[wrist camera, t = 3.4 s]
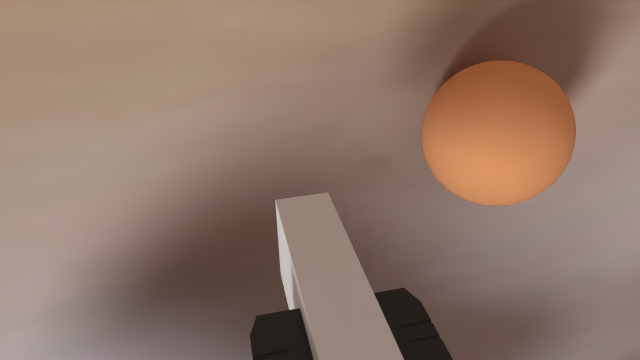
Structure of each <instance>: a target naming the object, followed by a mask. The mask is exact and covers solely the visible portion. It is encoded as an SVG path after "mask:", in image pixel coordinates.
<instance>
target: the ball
mask: <svg viewBox="0 0 640 360" xmlns="http://www.w3.org/2000/svg"><path fill="white" fill-rule="evenodd" d="M575 136H576V125H575V118H574V113H573V110H572V107H571V105H570V102H569V100H568V98H567V97H566V95H565V93H564V92H563V90H562V89H561V88H560V87H559V85H558V84H557V83H556V82H555V81H554V80H553V79H552V78H550V77H549V76H548V75H546V74H545V73H543V72H542V71H540V70H538V69H536V68H534V67H532V66H529V65H527V64H523V63H520V62H514V61H507V60H497V61H487V62H482V63H479V64H476V65H473V66H470V67H468V68H465V69H463V70H461V71H460V72H458V73H456V74H455V75H454V76H452V77H451V78H450V79H448V80H447V81H446V82H445V83H444V84H443V85H442V86H441V87H440V88H439V90H438V91H437V92H436V93H435V95H434V96H433V98H432V100H431V101H430V103H429V105H428V107H427V110H426V112H425V115H424V119H423V124H422V135H421V139H422V147H423V152H424V156H425V158H426V161H427V163H428V165H429V168H430V169H431V171H432V172H433V174H434V175H435V177H436V178H437V179H438V180H439V182H440V183H441V184H442V185H443V186H444V187H446V188H447V189H448V190H449V191H451V192H452V193H454V194H455V195H457V196H459V197H461V198H463V199H465V200H467V201H470V202H473V203H477V204H482V205H488V206H503V205H511V204H515V203H519V202H522V201H525V200H528V199H530V198H532V197H534V196H536V195H538V194H539V193H541V192H542V191H544V190H545V189H547V188H548V187H549V186H550V185H551V184H552V183H553V182H554V181H555V180H556V179H557V178H558V177H559V176H560V174H561V173H562V172H563V170H564V169H565V167H566V165H567V164H568V162H569V160H570V157H571V155H572V152H573V148H574V144H575Z"/></svg>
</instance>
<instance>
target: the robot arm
mask: <svg viewBox="0 0 640 360" xmlns="http://www.w3.org/2000/svg"><path fill="white" fill-rule="evenodd" d="M275 203H276V216H277V230H278V244H279V257H280V271H281V277H282V282H283V286H284V290H285V294H286V298H287V303H288V307H289V310H286V311H281V312H275V313H270V314H264V315H259V316H257V317H256V319H255V322H254V325H253V328H252V331H251V334H250V340H251V347H252V355H253V360H453V359H452V357H451V355H450V353H449V352H448V350H447V348H446V346H445V344H444V343H443V341H442V339H440V337H439V334H438V332H437V330H436V328H435V327H434V325H433V324H432V323H431V319H430V318H429V316H428V314H427V312H426V310H425V309H424V307H423V305H422V303H421V302H420V301H419V300H418V299H417V298H416V297H414V296H413V295H412V294H411V293H410V292H408V291H407V290H406V289H405V288H400V289H395V290H389V291H384V292H378V293H374V292H373V290H372V288H371V286H370V284H369V281H368V279H367V277H366V275H365V273H364V270H363V268H362V266H361V264H360V262H359V259H358V257H357V255H356V253H355V250H354V248H353V246H352V244H351V242H350V239H349V237H348V235H347V233H346V231H345V228H344V226H343V224H342V222H341V220H340V217H339V215H338V213H337V211H336V209H335V206H334V204H333V202H332V200H331V198H330V195H329V193H321V194H313V195H306V196H299V197H292V198H284V199H277V200H275Z"/></svg>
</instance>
